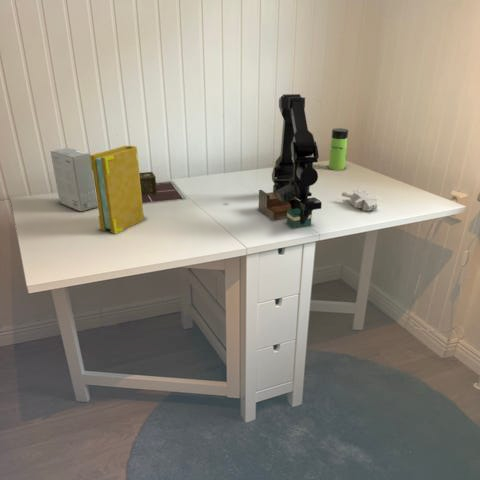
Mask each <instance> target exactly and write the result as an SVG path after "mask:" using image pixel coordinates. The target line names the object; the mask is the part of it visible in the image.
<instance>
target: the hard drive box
mask: <svg viewBox="0 0 480 480" xmlns="http://www.w3.org/2000/svg"><path fill="white" fill-rule="evenodd" d="M90 155H91V153H89V152H85V151H81V150H77V149H74V148H70V147H65V148H58V149H54V150H53V149H52V150H50V157H51V162H52V168H53V173H54V178H55V183H56V184H55V185H56V189H57V195H58V199H59V203H60V204H62V205H64V206H67V207H68V208H72V209H73V210H75V211H78V212H85V211H87V210H91V209H95V208H98V202H97V196H96V189H95V182H94V175H93V171H92V168H91V162H90Z"/></svg>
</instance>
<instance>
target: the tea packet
mask: <svg viewBox="0 0 480 480" xmlns="http://www.w3.org/2000/svg"><path fill="white" fill-rule="evenodd" d="M312 218H313V211H312V212H311V213H310V215H309V217H308V218H307V220H306V222H305V224H301V217H300V210H299V208H297V209H290V210H287V218H286V224H287V225H288V226H289V227H291V228H292V229H297V228H303V227H310V226H312Z"/></svg>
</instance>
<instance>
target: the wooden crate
mask: <svg viewBox="0 0 480 480" xmlns="http://www.w3.org/2000/svg"><path fill="white" fill-rule="evenodd" d="M139 175H140V184H141V194H142V197H144V196H154V195H157V194H158V189H157V183H158V182H157V179H156V177H157V176H156V175H155V174H154V172H153V171H146V172H139Z"/></svg>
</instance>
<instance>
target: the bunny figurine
mask: <svg viewBox="0 0 480 480" xmlns="http://www.w3.org/2000/svg"><path fill="white" fill-rule="evenodd" d="M352 191H353V193H350V192H347V191H343V192H342V194H341V196H342V197H345V198H348V199H350V204H351V205H352V206H353V207H354V208H359V209H362V211H363V212H367V211H372V210H373V211H374V210H377V209H378V204H377V198H376V197H374V196H370V195H369V193H368V192H367V191H364V190H362V191H359V190H358V189H354V190H352Z"/></svg>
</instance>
